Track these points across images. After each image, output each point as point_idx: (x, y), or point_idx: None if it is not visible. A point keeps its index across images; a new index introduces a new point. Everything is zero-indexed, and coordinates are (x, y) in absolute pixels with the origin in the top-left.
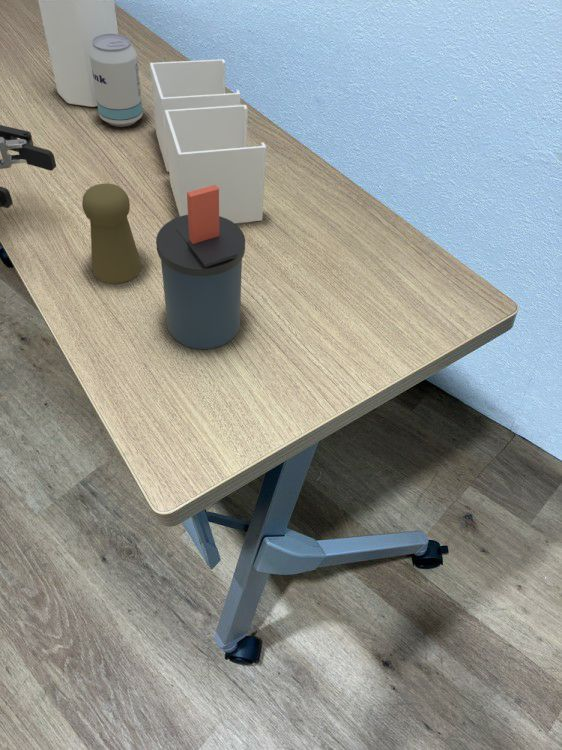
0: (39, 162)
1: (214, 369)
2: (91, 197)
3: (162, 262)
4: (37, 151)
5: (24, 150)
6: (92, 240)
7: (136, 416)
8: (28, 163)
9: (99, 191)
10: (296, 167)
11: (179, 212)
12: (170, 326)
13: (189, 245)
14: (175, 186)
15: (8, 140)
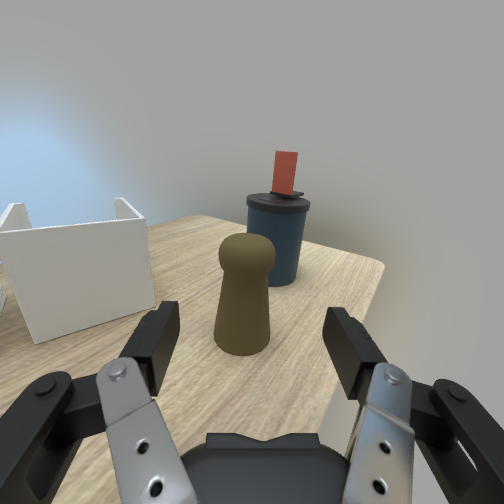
0: (169, 347)
1: (300, 263)
2: (264, 243)
3: (301, 218)
4: (168, 319)
5: (154, 360)
6: (264, 303)
7: (360, 279)
8: (158, 389)
9: (251, 239)
10: None
11: (129, 309)
12: (294, 273)
13: (294, 195)
14: (100, 297)
15: (106, 418)
